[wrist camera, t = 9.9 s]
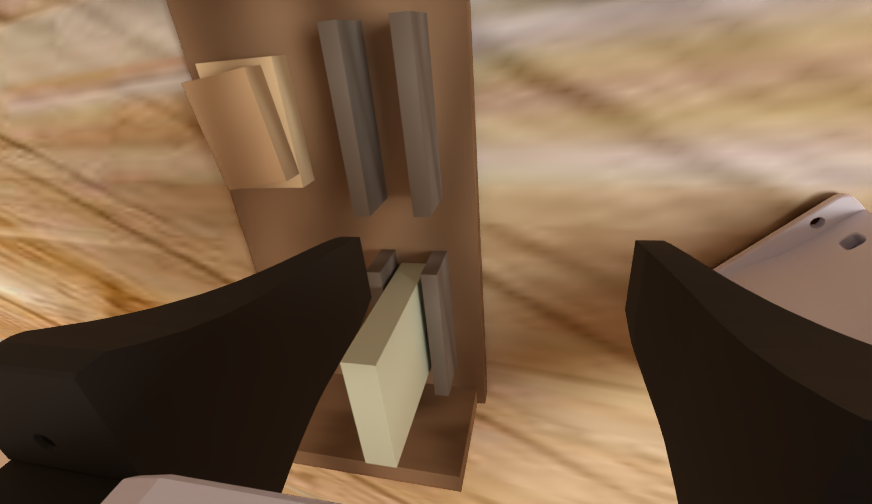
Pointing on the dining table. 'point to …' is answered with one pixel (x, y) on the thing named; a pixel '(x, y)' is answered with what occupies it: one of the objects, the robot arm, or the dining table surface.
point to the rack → (374, 189)
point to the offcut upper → (242, 127)
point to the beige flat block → (389, 367)
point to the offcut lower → (285, 105)
